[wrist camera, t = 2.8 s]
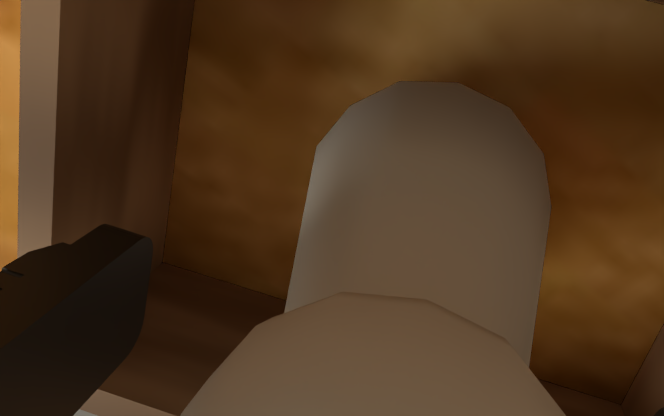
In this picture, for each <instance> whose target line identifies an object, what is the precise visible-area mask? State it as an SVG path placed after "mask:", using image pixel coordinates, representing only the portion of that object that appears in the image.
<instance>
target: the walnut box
mask: <svg viewBox="0 0 664 416" xmlns="http://www.w3.org/2000/svg"><path fill="white" fill-rule="evenodd" d="M647 1H651V2H655V3H660V4H664V0H647ZM193 7H194V0H21V38H20V112H19V186H18V258H19V257H21V256H22V255H24V254H26V253H27V252H29V251H33V250H36V249H40V248H44V247H47V246H51V245H54V244H58V243H61V242H64V243H67V244H70V245H71V244H72V243H74V242H75V241H77V240H78V239H80V238H81V237H83V236H84V235H86V234H87V233H89V232H90V231H92V230H93V229H95V228H97V227H98V226H100V225H102V224H109V225H112V226H115V227H118V228H121V229H125V230H128V231H131V232H134V233H137V234H140V235H143V236H146V237H149V238H150V239H151V240H152V243H153V256H152V264H151V271H150V278H149V286H148V293H147V301H146V308H145V315H144V321H143V326H142V329H141V332H140V335H139V337H138V339H137V342H136V343H135V345H134V347H133V349H132V351H131V352H130V353H129V355H128V356H127V357H126V359H125V360H124V361H123V362H122V363H121V364H120V365H119V366H118V367H117V368H116V369H115V371H114V372H113V373H112V374H111V375H110V376H109V377H108V378H107V379H106V380H105V381H104V383H103V384H102V385H101V386H100V387H99V388H98V389H97V390H96V391H95V392H94V394H93V395H92V396H91V397H90V398H89V399H88V400H87V401H86V402H85V403H84V404H83V406H82V407H81V408H80V410H83V411H86V412H89V413H92V414H95V415H98V416H180V415H181V413H182V412H183V411H184V409H185V408H186V407H187V405H188V404H189V403H190V402H191V400H192V399H193V398H194V396H195V395H196V394H197V393H198V391H199V390H200V389H201V387H202V386H203V385H204V384H205V382H206V381H207V380H208V378H209V377H210V376H211V375H212V374H213V373H214V372H215V371H216V369H217V368H218V367H219V366H220V365H221V364H222V363H223V362H224V361H225V359H226V358H227V357H228V356H229V355H230V354H231V353H232V352H233V351H234V349H235V348H236V347H237V346H238V345H239V344H240V343H241V342H242V341H243V339H244V338H245V337H246V336H247V335H248V334H249V333H250V332H251V330H252V329H253V328H254V327H255V326H256V325H258V324H260V323H262V322H264V321H266V320H268V319H270V318H272V317H275V316H278V315H280V314H283V313H284V311H285V306H286V301H285V300H282V299H278V298H275V297H272V296H269V295H266V294H262V293H259V292H256V291H253V290H249V289H246V288H243V287H240V286H237V285H233V284H230V283H227V282H224V281H220V280H217V279H214V278H211V277H208V276H204V275H201V274H198V273H195V272H192V271H188V270H185V269H182V268H179V267H175V266H172V265H169V264H166V263H163V262H162V260H163V252H164V243H165V235H166V227H167V219H168V211H169V203H170V195H171V186H172V178H173V170H174V162H175V154H176V146H177V138H178V129H179V121H180V113H181V105H182V97H183V89H184V81H185V73H186V64H187V56H188V48H189V40H190V32H191V24H192V16H193ZM538 380H539V379H538ZM539 382H540V383H541V384H542V386H543V387H544V388H545V389H546V391H547V392H548V393H549V394H550V396H551V397H552V398H553V400H554V401H555V402H556V403H557V405H558V406H559V407H560V409H561V410H562V411H563V412H564V414H565V415H566V416H654V415H655V413H656V412H657V411H658V410H660V409H661V408H663V407H664V324H663V326H662V328H661V330H660V332H659V334H658V336H657V338H656V340H655V341H654V343H653V345H652V347H651V349H650V351H649V353H648V355H647V357H646V359H645V360H644V362H643V364H642V366H641V368H640V370H639V372H638V374H637V376H636V378H635V379H634V381H633V383H632V385H631V387H630V389H629V391H628V393H627V395H626V397H625V398H624V400H623V402H622V404H621V405H619V404H616V403H613V402H610V401H607V400H603V399H600V398H597V397H594V396H590V395H587V394H584V393H581V392H578V391H574V390H571V389H568V388H565V387H562V386H558V385H555V384H552V383H549V382H545V381H542V380H539Z"/></svg>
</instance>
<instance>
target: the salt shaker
mask: <svg viewBox="0 0 664 416" xmlns="http://www.w3.org/2000/svg"><path fill="white" fill-rule="evenodd" d="M550 213H551V201H550V194H549V187H548V180H547V173H546V166H545V159H544V154H543V152H542V151H541V149H540V148H539V147H538V145H537V144H536V143H535V141H534V140H533V139H532V137H531V136H530V134H529V133H528V132H527V130H526V129H525V128H524V126H523V125H522V124H521V122H520V121H519V119H518V118H517V117H516V115H515V114H514V113H513V111H512V110H511V108H509V107H507V106H506V105H503V104H501V103H499V102H497V101H495V100H493V99H491V98H489V97H487V96H485V95H483V94H481V93H479V92H477V91H475V90H473V89H471V88H469V87H467V86H465V85H463V84H461V83H458V82H422V81H399V82H397V83H395V84H393V85H391V86H389V87H387V88H385V89H383V90H381V91H379V92H377V93H375V94H373V95H371V96H369V97H367V98H365V99H363V100H361V101H359V102H356V103H354V104H352V105H350V106H349V107H348V109H347V110H346V111H345V112H344V114H343V115H342V116H341V117H340V118H339V120H338V121H337V122H336V123H335V124H334V126H333V127H332V128H331V129H330V131H329V132H328V133H327V134H326V135H325V137H324V138H323V139H322V140H321V141H320V143H319V144H318V145H317V147H316V152H315V157H314V162H313V167H312V172H311V177H310V183H309V188H308V193H307V198H306V203H305V208H304V213H303V218H302V224H301V229H300V234H299V239H298V244H297V249H296V254H295V259H294V265H293V270H292V275H291V280H290V285H289V290H288V295H287V301H286V306H285V311H284V313H283V314H280V315H278V316H275V317H272V318H270V319H268V320H266V321H264V322H262V323H260V324H258V325H256V326H255V327H254V328H253V329H252V330H251V332H250V333H249V334H248V335H247V336H246V337H245V338H244V339H243V341H242V342H241V343H240V344H239V345H238V346H237V347H236V348H235V349H234V351H233V352H232V353H231V354H230V355H229V356H228V357H227V358H226V359H225V361H224V362H223V363H222V364H221V365H220V366H219V367H218V368H217V369H216V371H215V372H214V373H213V374H212V375H211V376H210V377H209V378H208V380H207V381H206V382H205V384H204V385H203V386H202V387H201V389H200V390H199V391H198V393H197V394H196V395H195V396H194V398H193V399H192V400H191V402H190V403H189V404H188V405H187V407H186V408H185V409H184V411H183V412H182V413H181V415H180V416H566V415H565V414H564V412H563V411H562V410H561V409H560V407H559V406H558V405H557V403H556V402H555V401H554V400H553V398H552V397H551V396H550V394H549V393H548V392H547V391H546V389H545V388H544V387H543V386H542V384H541V383H540V382H539V380H538V379H537V378H536V377H535V375H534V374H533V373H532V371H531V370H530V369H529V364H530V356H531V349H532V342H533V335H534V328H535V321H536V313H537V306H538V299H539V292H540V285H541V278H542V271H543V263H544V256H545V249H546V242H547V235H548V228H549V220H550Z"/></svg>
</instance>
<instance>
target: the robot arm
mask: <svg viewBox="0 0 664 416" xmlns="http://www.w3.org/2000/svg"><path fill="white" fill-rule="evenodd" d="M152 256H153V243H152V240H151V239H150V238H149V237H146V236H143V235H140V234H137V233H134V232H131V231H128V230H125V229H121V228H118V227H115V226H112V225H109V224H102V225H100V226H98V227H97V228H95V229H93V230H92V231H90V232H89V233H87V234H86V235H84V236H83V237H81V238H80V239H78V240H77V241H75V242H74V243H72V244H71V245H70V244H67V243H64V242H61V243H58V244H54V245H51V246H47V247H44V248H40V249H36V250H33V251H29V252H27V253H26V254H24V255H22V256H21V257H19V258H17V259H16V260H14V261H13V262H11V263H9V264H8V265H6V266H4V267H3V268H2V271H1V272H0V416H73V415H74V414H75V413H76V412H77V411H78V410H79V409H80V408H81V407H82V406H83V404H84V403H85V402H86V401H87V400H88V399H89V398H90V397H91V396H92V395H93V394H94V392H95V391H96V390H97V389H98V388H99V387H100V386H101V385H102V384H103V383H104V381H105V380H106V379H107V378H108V377H109V376H110V375H111V374H112V373H113V372H114V371H115V369H116V368H117V367H118V366H119V365H120V364H121V363H122V362H123V361H124V360H125V359H126V357H127V356H128V355H129V353H130V352H131V351H132V349H133V347H134V345H135V343H136V342H137V339H138V337H139V335H140V332H141V329H142V326H143V321H144V315H145V308H146V301H147V293H148V286H149V278H150V271H151V264H152ZM654 416H664V407H663V408H661V409H660V410H658V411H657V412H656V413H655V415H654Z"/></svg>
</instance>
